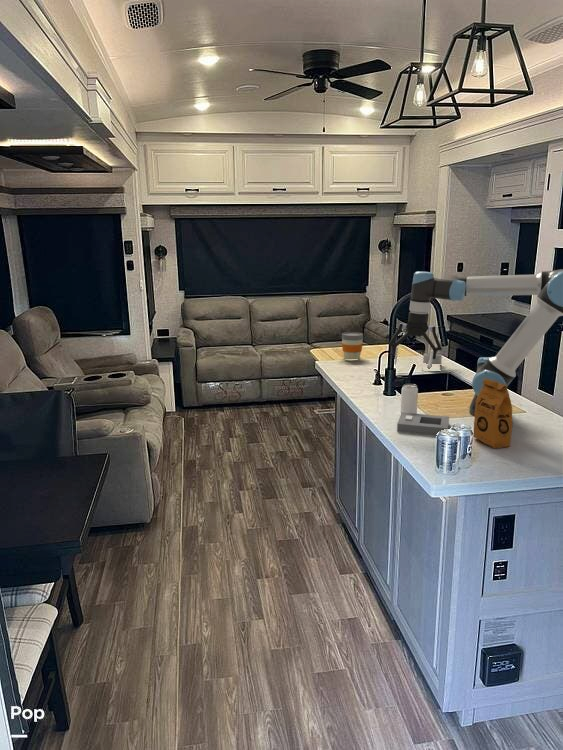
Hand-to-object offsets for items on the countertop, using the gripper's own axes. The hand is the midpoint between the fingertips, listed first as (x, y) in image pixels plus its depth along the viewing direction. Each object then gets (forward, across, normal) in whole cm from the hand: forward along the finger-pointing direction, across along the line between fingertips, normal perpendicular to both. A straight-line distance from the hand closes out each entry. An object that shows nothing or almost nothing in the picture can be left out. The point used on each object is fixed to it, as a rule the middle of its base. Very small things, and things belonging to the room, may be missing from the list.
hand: (412, 365), depth 221 cm
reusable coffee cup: (+24, +29, -99) cm, 106 cm away
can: (+21, -1, 0) cm, 21 cm away
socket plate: (+20, -6, +16) cm, 26 cm away
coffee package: (+18, -28, +28) cm, 44 cm away
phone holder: (+21, -15, -83) cm, 87 cm away
